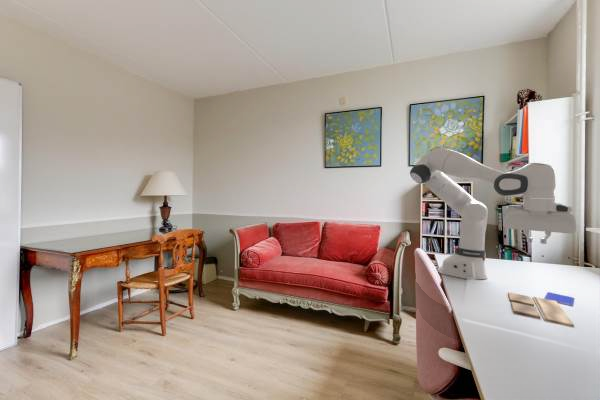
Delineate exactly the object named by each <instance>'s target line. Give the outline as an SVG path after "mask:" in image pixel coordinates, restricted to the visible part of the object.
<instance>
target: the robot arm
mask: <svg viewBox="0 0 600 400" xmlns="http://www.w3.org/2000/svg"><path fill="white" fill-rule="evenodd" d="M409 174H410V178H412V180H413V181H415V182H416V183H418V184H424V185H425V186H426V187H427V189H429V191H431V192H432V193H433V195H435V196H437V197H438V198H439V199H440V200H441V201H442V202H443V203H445V205H447V206H448V207H449V208H451V209H452V210H453V211H454V212H456V214H458V215H459V216H460V217H461V221H460V228H459V229H460V230H459V242H458V243H459V246H454V253H453V254H451V255H449V256H448V257H446V258H444V259H443V261H442V264H441V265H440V266H439V267H437V270H438V271H437V273H439V274H442V275H446V276H451V277H456V278H461V279H466V280H467V279H469V280H486V279H488V276H487V271H486V264H485V260H486V249H485V247H486V246H485V245H486V243H485V242H486V231H487V224H488V217H489V211H488V207H487V205H485V204H484V203H482V202H481V201H478V200H477V199H475V198H474V197H473V196H471V195H470V194H469V193H468V192H467V191H466V190H465V189H464V188H463V187H461V186H460V185H459V184H458V183H456V182H455V181H453V180H452V179H451V178H450V177H448V176H452V177H456V178H464V179H475V180H480V181H484V182H486V183H489V184H492V185H493V188H494V190H495V192H496V193H497V194H498V195H500V196H502V197H506V198H507V197H509V198H518V199H522V205H512V204H509V205H506V206H504V207H503V209H502V215H503V216H504V217H503V224H502V226H503V228H505V229H509V230H510V229H511V230H522V231H523V234H524V235H525V237H526V242H527V243H533V237H531V236H529V235H528V234H529V233H530V231H532V232H533V231H534V232H544V234H545V236H544V237H542V238H541V237H540V238H539V239H540V244H543V245H544V244H545V245H547V240H548V239H549V238H550V237H551V236H552V233H556V234H557V233H558V234H559V233H560V234H575V233H576V231H577V222H576V217H575V216H574V214H573V213H572V212H573V207H572V206H569V205H566V204H563V203H559V202H556V197H555V190H556V184H557V177H556V170H555V167H553V166H552V165H550V164H549V163H548V164H547V163H542V162H541V163H540V162H530V163H527V164H526V165H524V166H522V167H520V168H518V169H515V170H512V171H509V172H504V171H502V170H498V169H495V168H493V167H489V166H487V165H485V164H483V163H480V162H479V161H477V160H475V159H473V158H472V157H470V156H469V155H466V154H464V153H461V152H459V151H456V150H452V149H449V148H445V147H440V146H437V147H433V148H431V149H430V150H429V151H428V152H427V153H425V154H424V155H423V156H422V157H421V158H420V159H419V160H418V161H417V163H416V164H415V165H413V166H412V167H411V169H410V171H409ZM447 175H448V176H447Z"/></svg>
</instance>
